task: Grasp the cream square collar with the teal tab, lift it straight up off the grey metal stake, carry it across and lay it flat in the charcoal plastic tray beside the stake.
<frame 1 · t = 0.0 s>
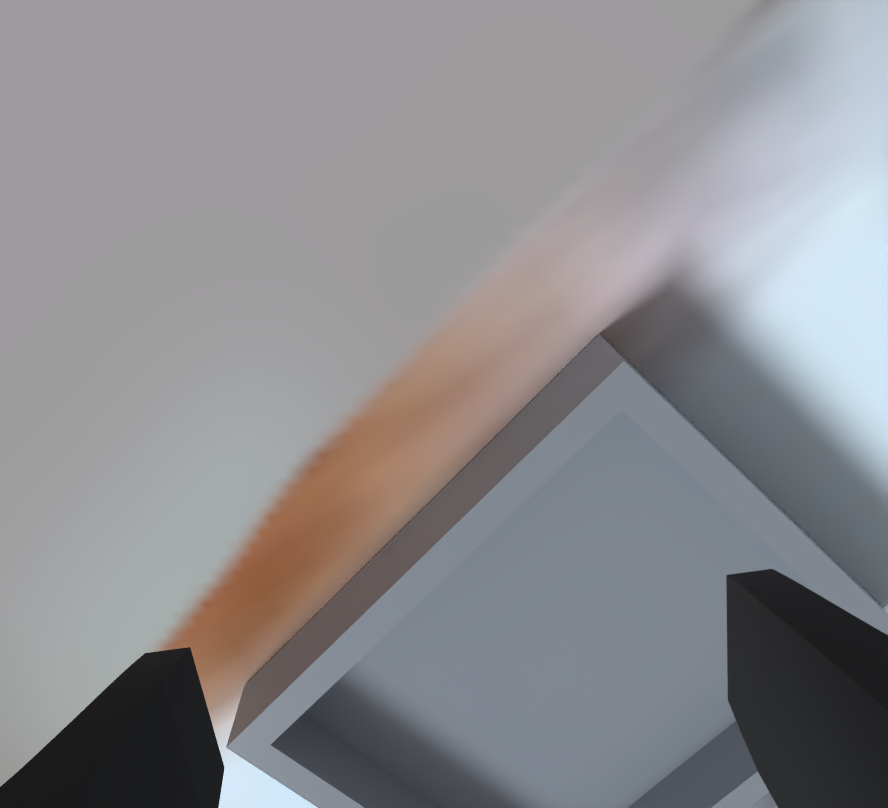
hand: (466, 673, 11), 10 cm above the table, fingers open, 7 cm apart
tray: (564, 647, 23), on the table
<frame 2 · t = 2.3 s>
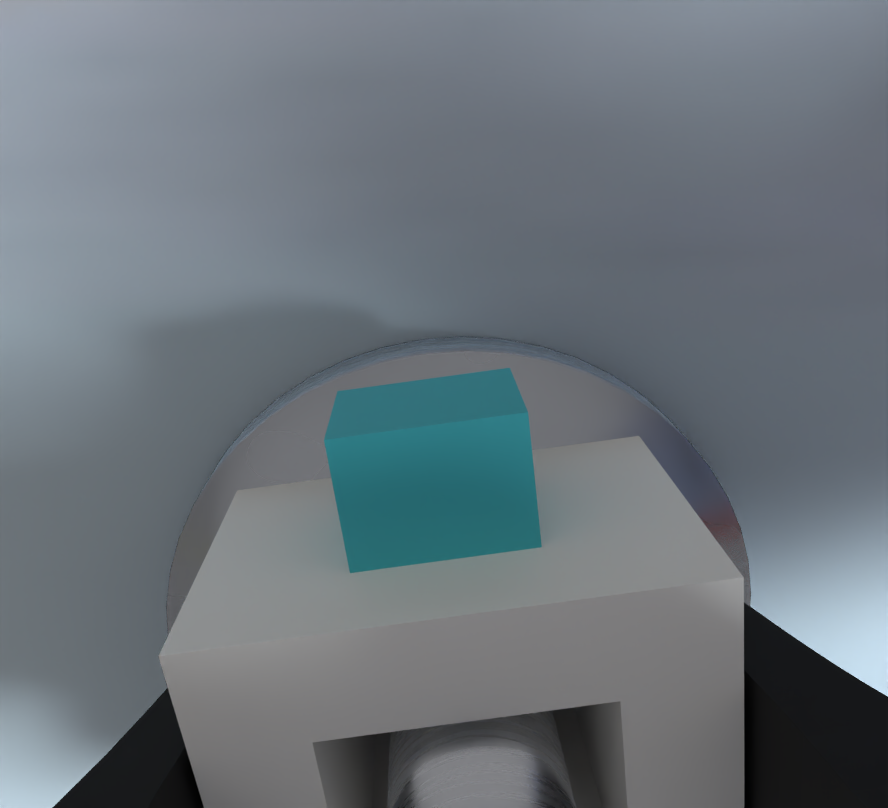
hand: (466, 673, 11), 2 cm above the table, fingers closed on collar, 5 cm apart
stake: (459, 601, 12), on the table
collar: (462, 632, 11), point 1 cm above the table, touching gripper, stake
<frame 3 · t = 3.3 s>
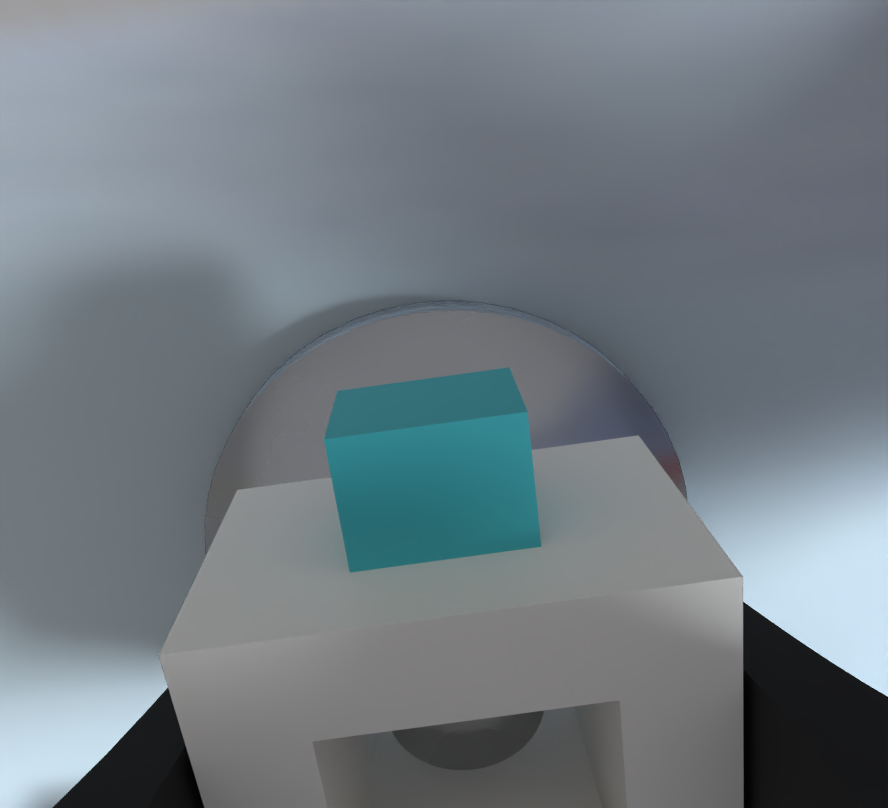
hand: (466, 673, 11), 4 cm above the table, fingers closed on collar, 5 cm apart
stake: (447, 526, 14), on the table
collar: (462, 632, 11), point 3 cm above the table, touching gripper
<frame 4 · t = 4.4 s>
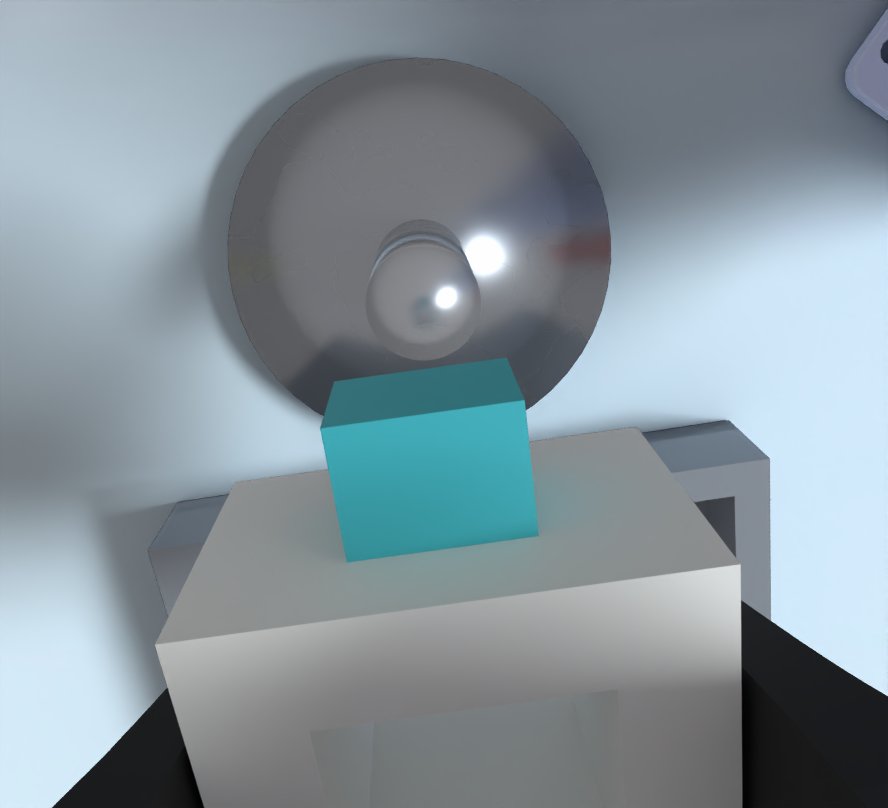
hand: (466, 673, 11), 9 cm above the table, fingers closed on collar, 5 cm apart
tray: (482, 658, 22), on the table
stake: (420, 259, 18), on the table
collar: (460, 625, 11), point 9 cm above the table, touching gripper
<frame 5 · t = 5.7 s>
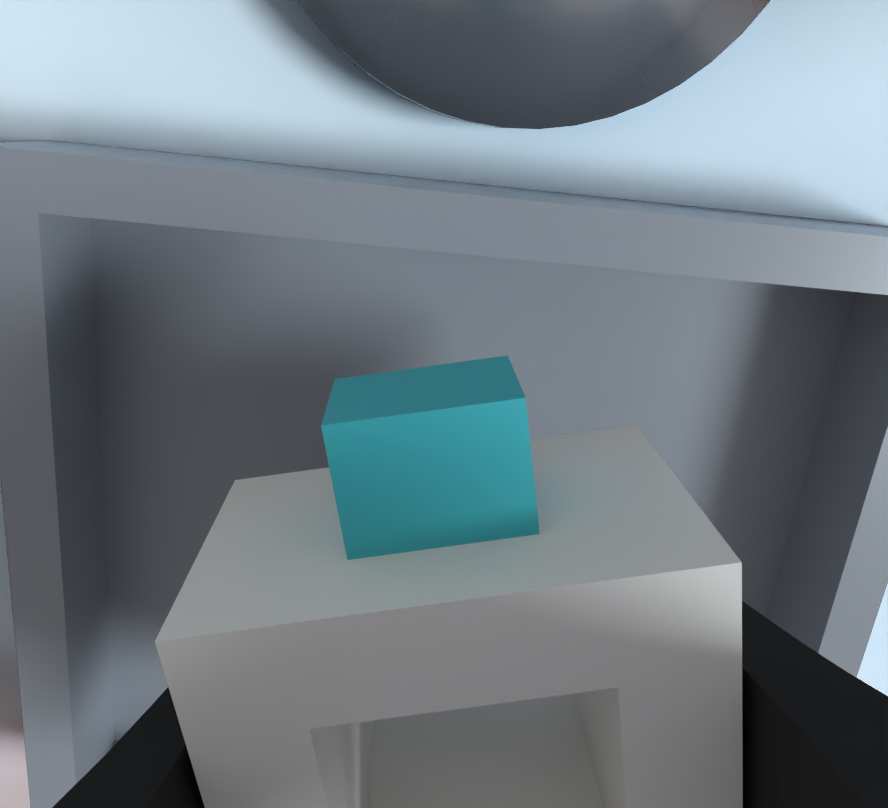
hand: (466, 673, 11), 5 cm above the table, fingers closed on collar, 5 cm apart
tray: (452, 513, 15), on the table
collar: (460, 623, 11), point 4 cm above the table, touching gripper
when the fingers open (3 cm above the table, at t = 6.6 s): collar drops 1 cm, resting on tray.
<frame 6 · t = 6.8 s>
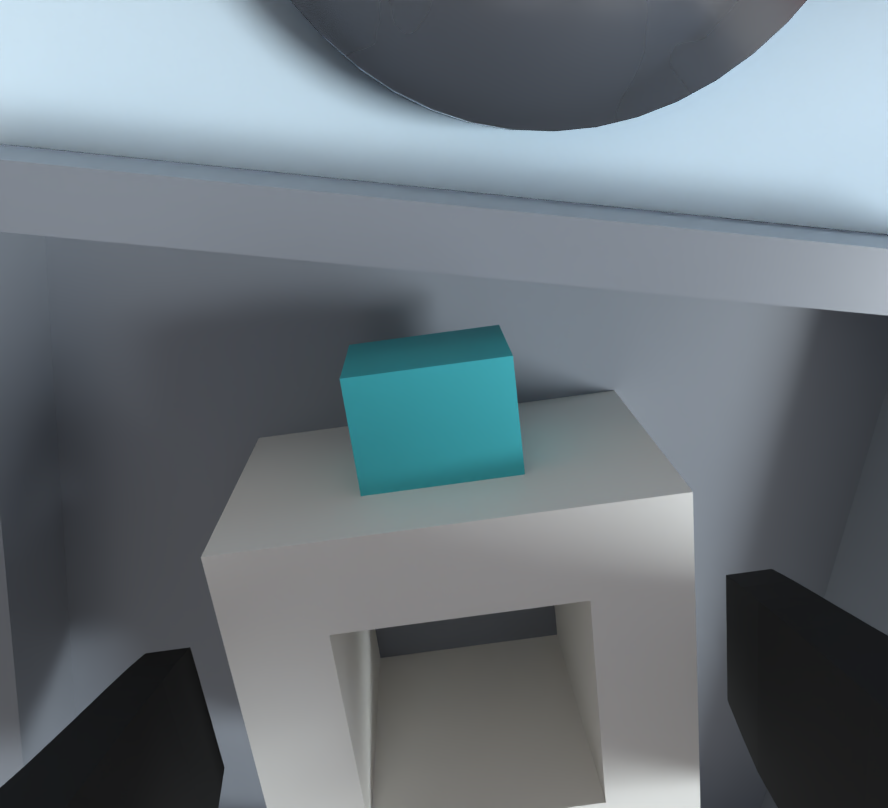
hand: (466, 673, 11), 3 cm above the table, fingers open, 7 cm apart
tray: (454, 557, 13), on the table
collar: (458, 569, 13), point 1 cm above the table, touching tray
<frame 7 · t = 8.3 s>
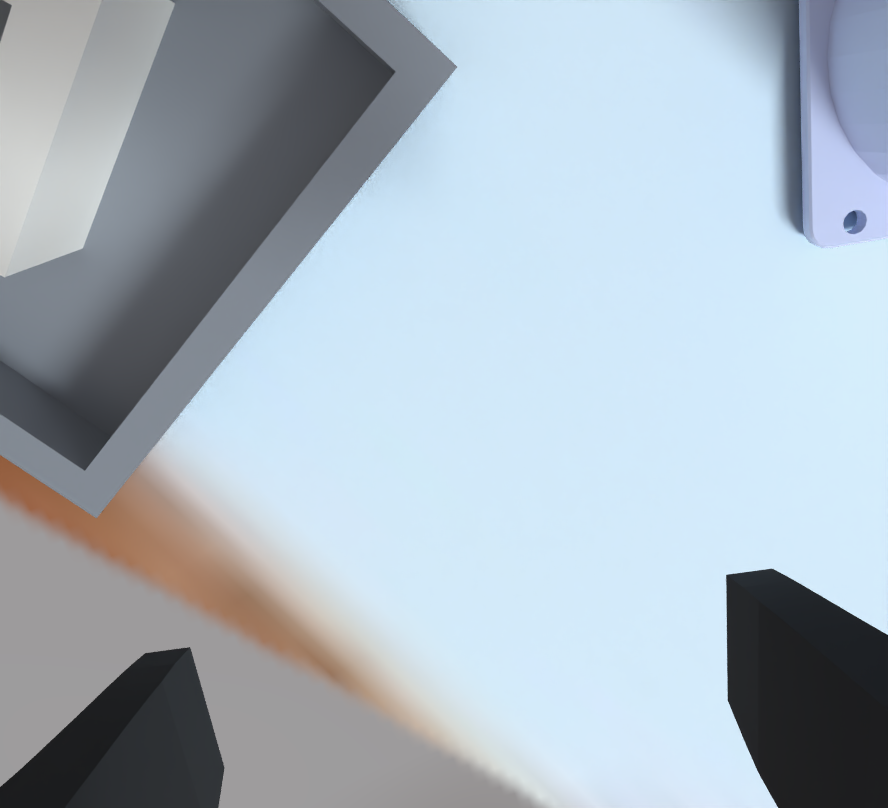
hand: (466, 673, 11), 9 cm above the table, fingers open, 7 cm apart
tray: (7, 72, 16), on the table
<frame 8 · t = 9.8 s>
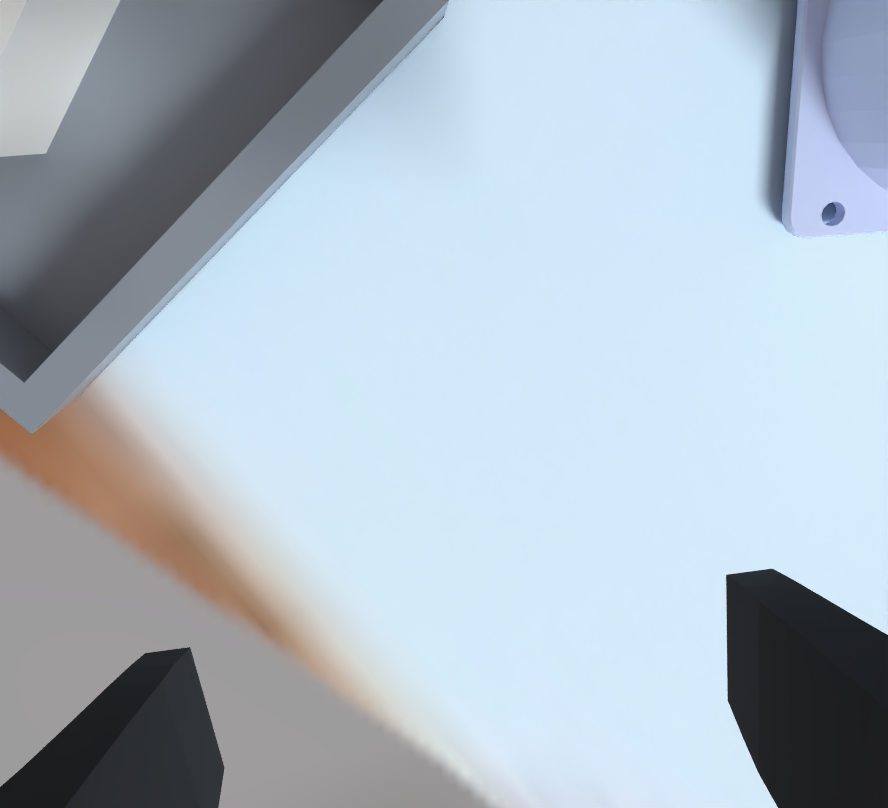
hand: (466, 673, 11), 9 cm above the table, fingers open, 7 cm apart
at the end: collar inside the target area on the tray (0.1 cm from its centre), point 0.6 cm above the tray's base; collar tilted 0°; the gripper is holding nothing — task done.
